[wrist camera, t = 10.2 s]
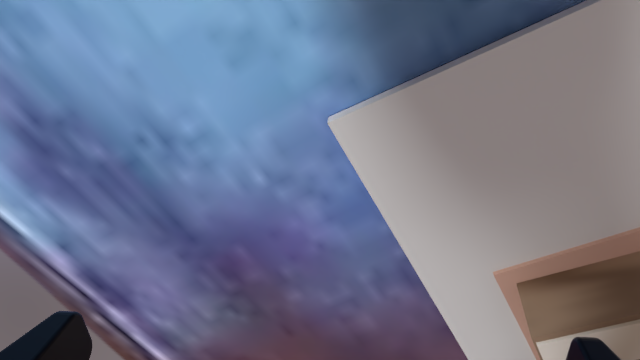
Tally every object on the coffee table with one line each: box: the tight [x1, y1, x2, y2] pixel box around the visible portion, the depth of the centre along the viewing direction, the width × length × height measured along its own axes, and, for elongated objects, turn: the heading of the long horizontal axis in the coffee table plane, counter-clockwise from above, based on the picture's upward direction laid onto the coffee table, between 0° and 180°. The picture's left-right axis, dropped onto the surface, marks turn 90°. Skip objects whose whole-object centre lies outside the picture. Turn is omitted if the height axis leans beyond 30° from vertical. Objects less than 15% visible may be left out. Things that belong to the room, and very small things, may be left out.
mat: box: [328, 0, 640, 360], centre depth 23 cm, size 21×15×1 cm
